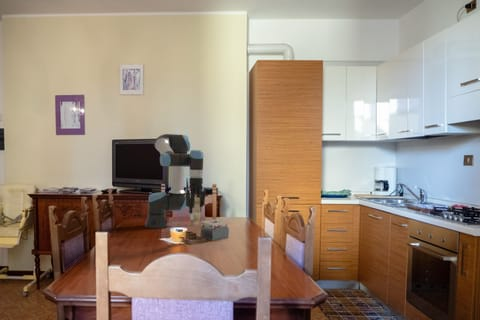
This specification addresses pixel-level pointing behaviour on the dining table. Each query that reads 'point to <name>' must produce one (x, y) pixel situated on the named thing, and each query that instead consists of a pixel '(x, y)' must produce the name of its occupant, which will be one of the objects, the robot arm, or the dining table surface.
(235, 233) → the dining table surface
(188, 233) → the stand
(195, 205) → the stick
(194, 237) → the tray
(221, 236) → the box
